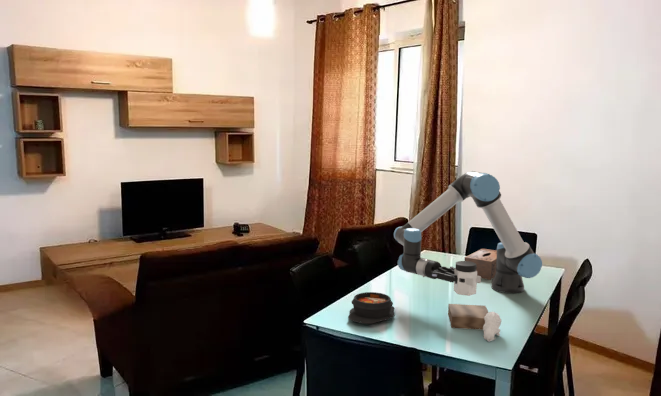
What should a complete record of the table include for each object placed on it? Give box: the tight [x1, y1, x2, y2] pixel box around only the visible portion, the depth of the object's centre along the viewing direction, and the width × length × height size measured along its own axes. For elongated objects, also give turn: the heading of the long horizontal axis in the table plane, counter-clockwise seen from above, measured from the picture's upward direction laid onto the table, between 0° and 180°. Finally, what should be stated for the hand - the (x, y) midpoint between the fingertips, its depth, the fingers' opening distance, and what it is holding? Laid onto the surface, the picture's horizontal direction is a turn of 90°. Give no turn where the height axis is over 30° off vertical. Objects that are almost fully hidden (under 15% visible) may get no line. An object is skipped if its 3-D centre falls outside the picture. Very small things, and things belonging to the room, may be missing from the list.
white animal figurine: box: [482, 311, 502, 342], centre depth 190 cm, size 6×8×12 cm
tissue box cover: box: [464, 248, 497, 281], centre depth 278 cm, size 26×14×10 cm, turn 143°
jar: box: [453, 260, 478, 296], centre depth 205 cm, size 9×8×12 cm
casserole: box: [347, 291, 396, 325], centre depth 210 cm, size 25×19×8 cm
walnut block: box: [447, 303, 489, 331], centre depth 205 cm, size 15×15×5 cm
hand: (476, 281), depth 201 cm, fingers closed on jar, 4 cm apart
